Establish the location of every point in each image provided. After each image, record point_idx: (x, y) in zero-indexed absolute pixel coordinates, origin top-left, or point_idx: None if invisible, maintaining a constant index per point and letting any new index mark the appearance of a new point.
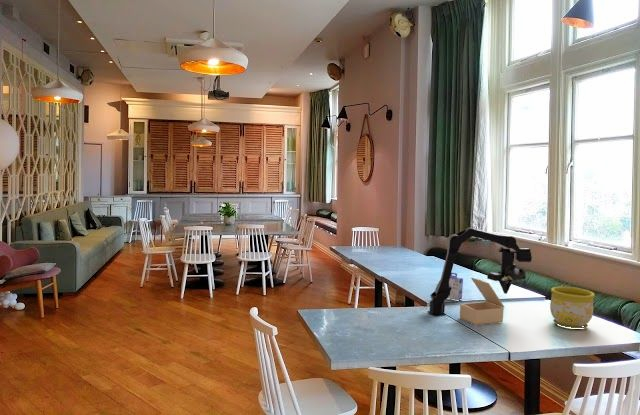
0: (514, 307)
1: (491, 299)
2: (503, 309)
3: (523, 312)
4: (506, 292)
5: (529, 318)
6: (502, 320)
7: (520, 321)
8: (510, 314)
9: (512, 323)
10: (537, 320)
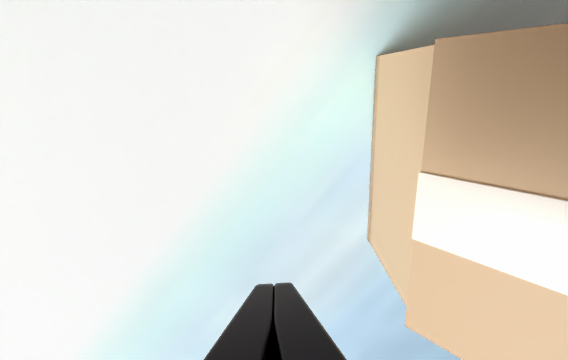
0: (37, 340)
1: (529, 233)
2: (432, 45)
3: (30, 239)
4: (273, 295)
5: (64, 98)
6: (385, 55)
7: (198, 44)
8: (166, 220)
9: (308, 12)
10: (18, 28)
